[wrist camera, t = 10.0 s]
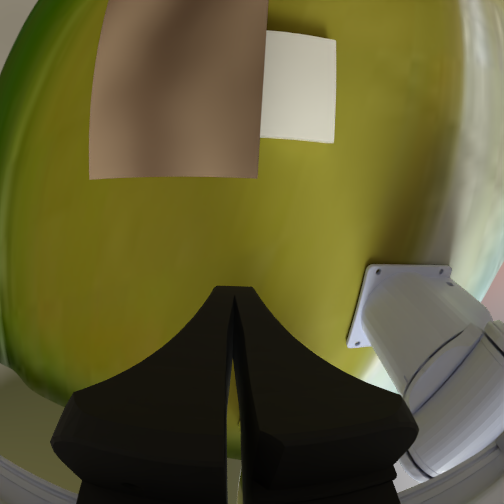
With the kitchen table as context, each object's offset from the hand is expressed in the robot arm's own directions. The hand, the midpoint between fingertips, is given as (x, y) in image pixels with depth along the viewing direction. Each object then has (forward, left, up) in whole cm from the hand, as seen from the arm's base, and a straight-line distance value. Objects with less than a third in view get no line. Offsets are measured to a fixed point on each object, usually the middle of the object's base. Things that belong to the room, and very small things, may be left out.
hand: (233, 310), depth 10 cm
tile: (0, -10, -10) cm, 14 cm away
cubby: (+3, -10, -9) cm, 14 cm away
